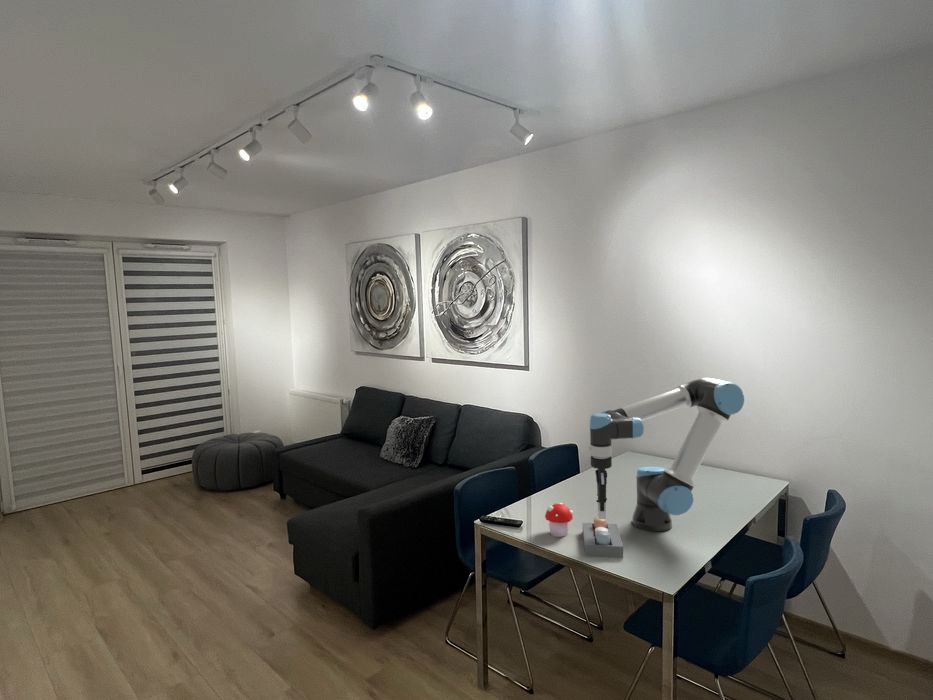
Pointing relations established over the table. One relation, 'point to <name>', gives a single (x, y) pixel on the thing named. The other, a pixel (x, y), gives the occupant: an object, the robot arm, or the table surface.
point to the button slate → (602, 538)
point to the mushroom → (558, 519)
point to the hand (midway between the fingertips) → (601, 518)
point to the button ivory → (600, 529)
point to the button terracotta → (600, 523)
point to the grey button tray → (602, 550)
